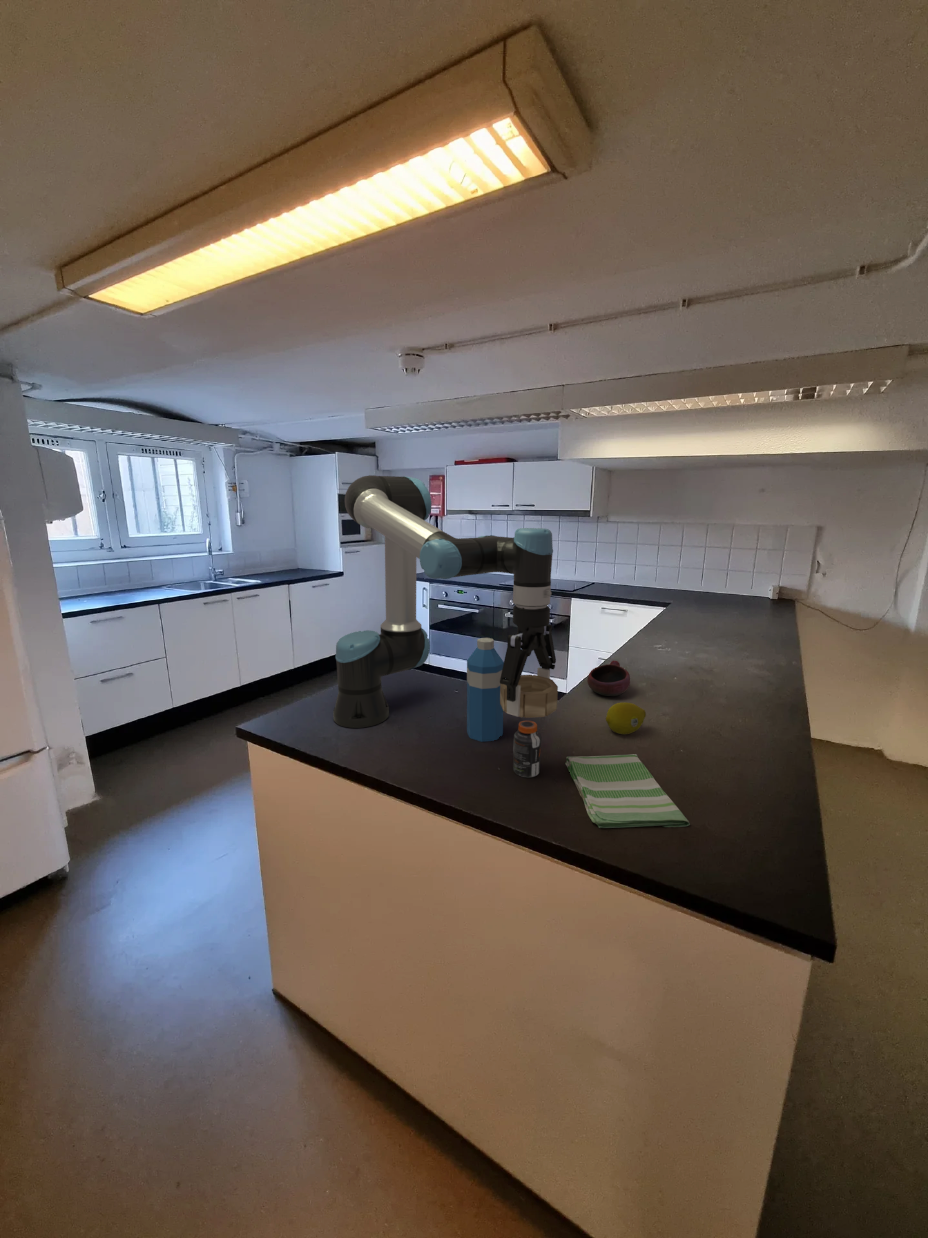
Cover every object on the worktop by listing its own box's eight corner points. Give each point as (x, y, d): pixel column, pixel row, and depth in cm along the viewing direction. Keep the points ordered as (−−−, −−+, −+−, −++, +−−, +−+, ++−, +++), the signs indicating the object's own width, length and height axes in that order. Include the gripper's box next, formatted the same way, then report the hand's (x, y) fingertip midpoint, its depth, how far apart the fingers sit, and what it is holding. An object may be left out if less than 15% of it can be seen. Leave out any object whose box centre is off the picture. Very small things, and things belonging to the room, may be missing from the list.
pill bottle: (544, 776, 105) (546, 728, 103) (519, 780, 104) (520, 731, 101) (533, 762, 111) (534, 716, 108) (508, 766, 109) (509, 719, 107)
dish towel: (594, 832, 88) (594, 819, 87) (561, 765, 111) (562, 754, 110) (689, 828, 89) (691, 815, 88) (638, 763, 112) (639, 752, 111)
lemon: (609, 740, 122) (611, 710, 120) (598, 726, 129) (600, 698, 127) (651, 738, 122) (654, 709, 120) (638, 725, 130) (640, 697, 128)
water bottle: (500, 743, 120) (502, 646, 114) (463, 740, 122) (463, 644, 116) (504, 727, 129) (506, 636, 123) (470, 724, 131) (470, 634, 125)
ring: (490, 707, 103) (491, 685, 102) (519, 692, 112) (520, 671, 111) (537, 722, 96) (538, 698, 95) (564, 704, 105) (565, 682, 104)
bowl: (635, 701, 145) (637, 676, 144) (592, 701, 145) (593, 676, 143) (618, 682, 161) (620, 659, 159) (579, 682, 161) (580, 659, 159)
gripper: (515, 618, 88) (513, 729, 93) (574, 598, 106) (569, 692, 111) (482, 612, 92) (481, 719, 97) (544, 595, 110) (541, 685, 115)
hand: (528, 705), depth 104 cm, fingers closed on ring, 11 cm apart
